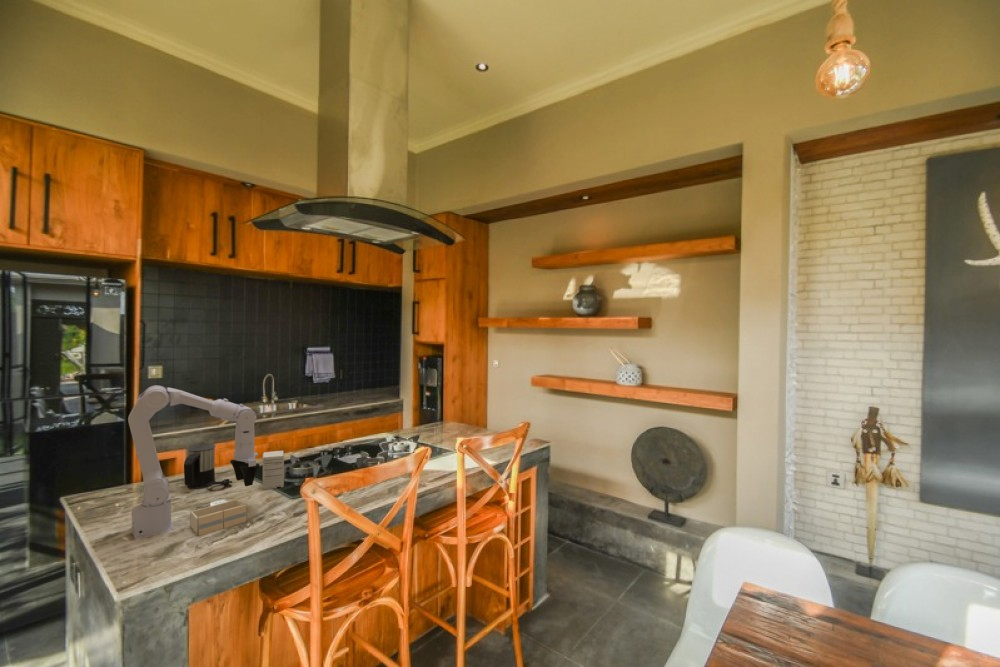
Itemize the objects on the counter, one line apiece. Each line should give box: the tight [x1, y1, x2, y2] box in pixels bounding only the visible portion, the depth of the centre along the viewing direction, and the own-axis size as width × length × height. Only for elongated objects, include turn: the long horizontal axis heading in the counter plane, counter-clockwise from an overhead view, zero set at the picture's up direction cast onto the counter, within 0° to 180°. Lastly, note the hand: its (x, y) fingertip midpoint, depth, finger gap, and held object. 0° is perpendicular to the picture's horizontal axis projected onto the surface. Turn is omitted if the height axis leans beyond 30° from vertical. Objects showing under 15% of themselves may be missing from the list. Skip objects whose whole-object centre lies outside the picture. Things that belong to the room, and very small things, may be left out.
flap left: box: [196, 511, 224, 537], centre depth 133 cm, size 7×1×6 cm, turn 138°
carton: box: [189, 499, 244, 534], centre depth 139 cm, size 13×8×5 cm, turn 138°
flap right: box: [223, 503, 248, 529], centre depth 139 cm, size 7×1×6 cm, turn 138°
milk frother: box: [183, 443, 233, 489], centre depth 171 cm, size 14×16×15 cm
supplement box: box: [262, 450, 285, 491], centre depth 172 cm, size 7×7×13 cm
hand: (244, 482), depth 149 cm, fingers open, 7 cm apart
